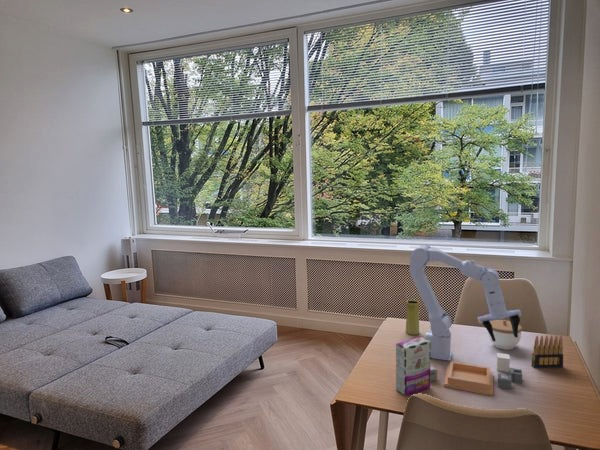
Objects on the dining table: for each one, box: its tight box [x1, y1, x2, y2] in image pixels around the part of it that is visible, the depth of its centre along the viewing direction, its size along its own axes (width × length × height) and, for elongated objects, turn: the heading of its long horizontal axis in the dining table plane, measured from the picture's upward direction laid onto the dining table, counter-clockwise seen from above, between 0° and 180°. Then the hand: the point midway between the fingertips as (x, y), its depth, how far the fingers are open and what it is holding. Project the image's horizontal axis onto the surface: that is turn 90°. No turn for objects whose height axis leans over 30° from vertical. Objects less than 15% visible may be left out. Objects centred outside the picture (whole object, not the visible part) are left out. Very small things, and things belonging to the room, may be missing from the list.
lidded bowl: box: [487, 319, 523, 351], centre depth 172 cm, size 13×13×11 cm
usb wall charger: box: [430, 364, 438, 382], centre depth 148 cm, size 4×7×4 cm, turn 15°
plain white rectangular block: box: [496, 352, 511, 373], centre depth 152 cm, size 4×4×5 cm
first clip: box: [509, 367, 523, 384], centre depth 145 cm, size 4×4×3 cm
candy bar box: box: [395, 336, 431, 397], centre depth 138 cm, size 11×5×16 cm, turn 117°
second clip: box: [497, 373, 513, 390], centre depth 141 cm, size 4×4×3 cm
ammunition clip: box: [531, 335, 564, 369], centre depth 153 cm, size 11×2×12 cm, turn 91°
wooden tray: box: [443, 360, 494, 396], centre depth 144 cm, size 15×15×3 cm
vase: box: [404, 299, 420, 336], centre depth 187 cm, size 6×6×14 cm
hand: (504, 338), depth 152 cm, fingers open, 7 cm apart
